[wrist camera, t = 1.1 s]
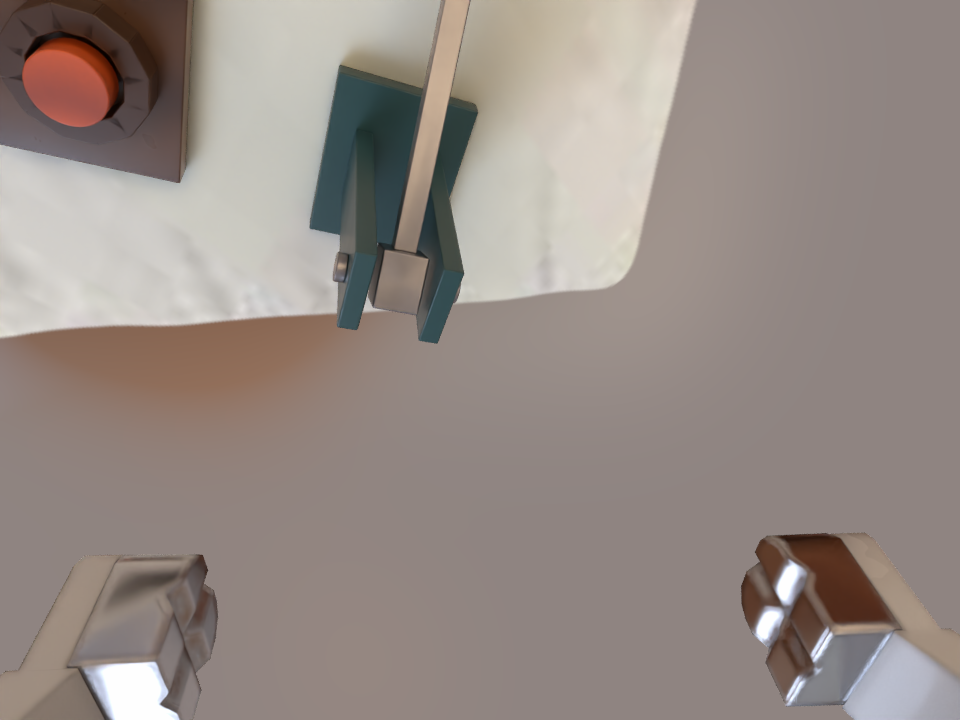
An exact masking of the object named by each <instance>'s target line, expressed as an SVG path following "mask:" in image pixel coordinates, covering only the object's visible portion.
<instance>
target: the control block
mask: <svg viewBox="0 0 960 720" xmlns="http://www.w3.org/2000/svg"><path fill="white" fill-rule="evenodd" d="M192 21H193V0H0V144H1V145H6V146H10V147H15V148H19V149H24V150H29V151H33V152H38V153H42V154H47V155H52V156H56V157H61V158H66V159H70V160H75V161H79V162H84V163H89V164H93V165H98V166H102V167H107V168H112V169H116V170H121V171H125V172H130V173H135V174H139V175H144V176H149V177H153V178H158V179H162V180H167V181H172V182H176V183H180V181H181V179H182V177H183V174H184V172H185V168H186V147H187V126H188V105H189V84H190V63H191V42H192ZM62 37H65V38H72V39H76V40H80V41H82V42H84V43H87V44H89V45H90V46H92V47H93V48H95V49H96V50H98V51H99V52H100V53H101V54H102V55H103V56H104V57H105V58H106V59H107V60H108V61H109V63H110V64H111V66H112V67H113V69H114V71H115V73H116V76H117V79H118V84H119V92H118V97H117V99H116V101H115V103H114V104H113V106H112V107H111V109H110V110H109V111H108V113H107V114H106V116H105V117H104V118H103V119H102V120H101V121H100V122H98V123H96V124H94V125H91V126H87V127H74V126H68V125H65V124H62V123H59V122H57V121H55V120H53V119H51V118H50V117H48V116H47V115H45V114H44V113H43V112H42V111H41V110H39V109H38V108H37V107H36V105H35V104H34V103H33V102H32V101H31V99H30V98H29V96H28V94H27V92H26V90H25V87H24V84H23V79H22V71H23V66H24V64H25V62H26V60H27V59H28V58H29V56H31V55H32V54H33V53H34V52H35V51H36V50H37V49H38V48H39V47H40V46H41V45H42V44H44V43H45V42H47V41H48V40H51V39H54V38H62Z"/></svg>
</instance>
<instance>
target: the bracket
mask: <svg viewBox="0 0 960 720" xmlns="http://www.w3.org/2000/svg"><path fill="white" fill-rule="evenodd" d="M422 92H423V89H421V88H417V87H414V86H411V85H407V84H404V83H400V82H397V81H393V80H390V79H386V78H383V77H380V76H376V75H373V74H369V73H366V72H362V71H359V70H355V69H352V68H349V67H345V66H342V65H340V66H339V69H338V75H337V80H336V85H335V91H334V96H333V101H332V107H331V112H330V117H329V122H328V128H327V133H326V138H325V144H324V149H323V154H322V160H321V165H320V170H319V175H318V181H317V186H316V191H315V197H314V202H313V207H312V213H311V218H310V229H315V230H319V231H324V232H329V233H334V234H339V235H340V252H338V253H337V255H336V259H335V264H334V271H333V281H335V282H338V307H337V327H340V328H346V329H352V330H357V329H358V326H359V323H360V319H361V315H362V312H363V308H364V304H365V301H366V297H367V293H368V290H369V286H370V282H371V279H372V275H373V272H374V268H375V264H376V261H377V257H378V252H377V243H379V242H381V243H386V244H392V240H393V235H394V230H395V225H396V220H397V215H398V210H399V205H400V200H401V195H402V190H403V185H404V181H405V176H406V171H407V166H408V161H409V156H410V151H411V146H412V141H413V136H414V131H415V126H416V122H417V117H418V112H419V107H420V102H421V97H422ZM477 114H478V111H477V108H476V105H475V104H473V103H469V102H466V101H462V100H459V99H455V98H452V97H450V99H449V104H448V108H447V113H446V118H445V122H444V127H443V132H442V136H441V141H440V146H439V150H438V155H437V160H436V164H435V169H434V174H433V178H432V183H431V188H430V192H429V197H428V202H427V206H426V211H425V216H424V220H423V225H422V230H421V234H420V239H419V244H418V248H417V250H420V251H421V252H422V253H424V254H425V255H426V256H427V257H428V258H429V259H430V261H429V266H428V270H427V275H426V279H425V284H424V288H423V293H422V298H421V302H420V307H419V311H418V314H417V315H416V318H417V329H418V339H419V341H425V342H431V343H438V341H439V338H440V336H441V333H442V330H443V328H444V325H445V323H446V320H447V317H448V315H449V312H450V310H451V307H452V304H453V303H455V302H456V301H457V299H458V296H459V292H460V286H461V281H462V278H463V276H464V270H463V265H462V260H461V255H460V250H459V245H458V240H457V235H456V230H455V225H454V220H453V215H452V210H451V205H450V200H449V198H450V195H451V192H452V189H453V186H454V183H455V180H456V177H457V174H458V171H459V168H460V165H461V162H462V159H463V156H464V153H465V150H466V147H467V144H468V141H469V138H470V135H471V132H472V129H473V126H474V123H475V120H476V117H477Z"/></svg>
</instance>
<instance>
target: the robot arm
mask: <svg viewBox="0 0 960 720" xmlns="http://www.w3.org/2000/svg"><path fill="white" fill-rule="evenodd" d="M755 553H756V555H757V557H758V559H759V561H760V562H759V563H757V564H756V565H755V566H754V567H752V568H751V569H749V570H748V571H747V572H746V574H745V577H744V580H743V583H742V585H741V601H742V608H743V611H744V615H745V619H746V621H747V623H748V626H749V628H750V630H751V632H752V634H753V635H754V636H755V637H756V638H758V639H759V640H760V641H761V642H763V643H764V644H765V645H766V646H767V647H769V649H768V654H767V658H766V664H767V667H768V669H769V671H770V673H771V675H772V677H773V679H774V681H775V683H776V686H777V688H778V690H779V692H780V694H781V696H782V698H783V701H784V703H785V705H786V706H817V705H819V706H820V705H844V706H843V709H844V710H845V711H846V712H847V713H848V714H849V715H850V716H851V717H852V718H853V719H854V720H960V635H959V634H958V633H956V632H955V631H953V630H952V629H940V628H939V626H938V625H937V623H936V622H935V621H934V619H933V618H932V617H931V615H930V614H929V613H928V611H927V610H926V608H925V607H924V606H923V604H922V603H921V602H920V600H919V599H918V598H917V596H916V595H915V594H914V592H913V591H912V590H911V588H910V587H909V585H908V584H907V583H906V581H905V580H904V579H903V577H902V576H901V575H900V573H899V572H898V571H897V569H896V568H895V566H894V565H893V564H892V562H891V561H890V560H889V558H888V557H887V556H886V555H885V553H884V552H883V550H882V549H881V548H880V547H879V545H878V543H877V542H876V541H875V540H874V539H873V538H872V537H870V536H869V535H868V534H866V533H839V534H827V533H820V534H819V533H817V534H795V535H773V536H766V537H765V538H763V539H762V540H761V541H760V542H759V544H758V547H757V549H756V551H755ZM207 572H208V569H207V566H206V563H205V560H204V557H203V555H197V554H196V555H100V556H99V555H95V556H84V557H83V558H82V559H81V560H80V561H79V562H78V563H77V564H76V565H75V566H74V567H73V568H72V570H71V572H70V574H69V576H68V578H67V580H66V582H65V583H64V585H63V587H62V589H61V591H60V593H59V595H58V596H57V598H56V600H55V602H54V604H53V606H52V608H51V610H50V612H49V613H48V615H47V617H46V619H45V621H44V623H43V625H42V626H41V629H40V630H39V632H38V634H37V636H36V638H35V640H34V641H33V644H32V645H31V647H30V649H29V651H28V653H27V655H26V657H25V658H24V660H23V662H22V664H21V666H20V668H19V670H16V671H5V672H4V673H3V674H2V675H0V720H193V718H194V715H195V711H196V708H197V704H198V701H199V697H200V694H201V687H200V684H199V681H198V678H197V675H196V672H197V671H198V670H199V669H200V668H201V667H202V666H203V665H204V664H205V663H206V662H207V661H208V660H209V659H210V658H211V654H212V650H213V646H214V642H215V638H216V629H217V620H218V610H217V600H216V597H215V593H214V590H213V589H211V588H210V587H208V586H207V585H205V584H204V581H205V578H206V575H207Z"/></svg>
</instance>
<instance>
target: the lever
mask: <svg viewBox="0 0 960 720" xmlns="http://www.w3.org/2000/svg"><path fill="white" fill-rule="evenodd" d="M470 1H471V0H441V3H440V8H439V13H438V18H437V23H436V28H435V33H434V38H433V43H432V48H431V53H430V58H429V62H428V67H427V72H426V77H425V82H424V87H423V92H422V97H421V102H420V107H419V112H418V117H417V122H416V126H415V131H414V136H413V141H412V146H411V151H410V156H409V161H408V166H407V171H406V176H405V181H404V185H403V190H402V195H401V200H400V205H399V210H398V215H397V220H396V225H395V230H394V235H393V240H392V244H386V243H381V242H379V243H378V246H377V252H378V257H377V261H376V264H375V268H374V272H373V275H372V279H371V282H370V286H369V292H368V298H369V300H370V302H371V304H372V306H373V308H378V309H383V310H389V311H395V312H400V313H406V314H412V315H417V314H418V311H419V307H420V302H421V298H422V293H423V288H424V284H425V279H426V275H427V270H428V266H429V261H430V259H429V258H428V257H427V256H426V255H425V254H424V253H422V252H421V251H420V250H417V248H418V244H419V239H420V234H421V230H422V225H423V220H424V216H425V211H426V206H427V202H428V197H429V192H430V188H431V183H432V178H433V174H434V169H435V164H436V160H437V155H438V150H439V146H440V141H441V136H442V132H443V127H444V122H445V118H446V113H447V108H448V104H449V99H450V94H451V90H452V85H453V80H454V75H455V71H456V66H457V61H458V57H459V52H460V47H461V43H462V38H463V33H464V29H465V24H466V19H467V15H468V10H469V5H470Z"/></svg>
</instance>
